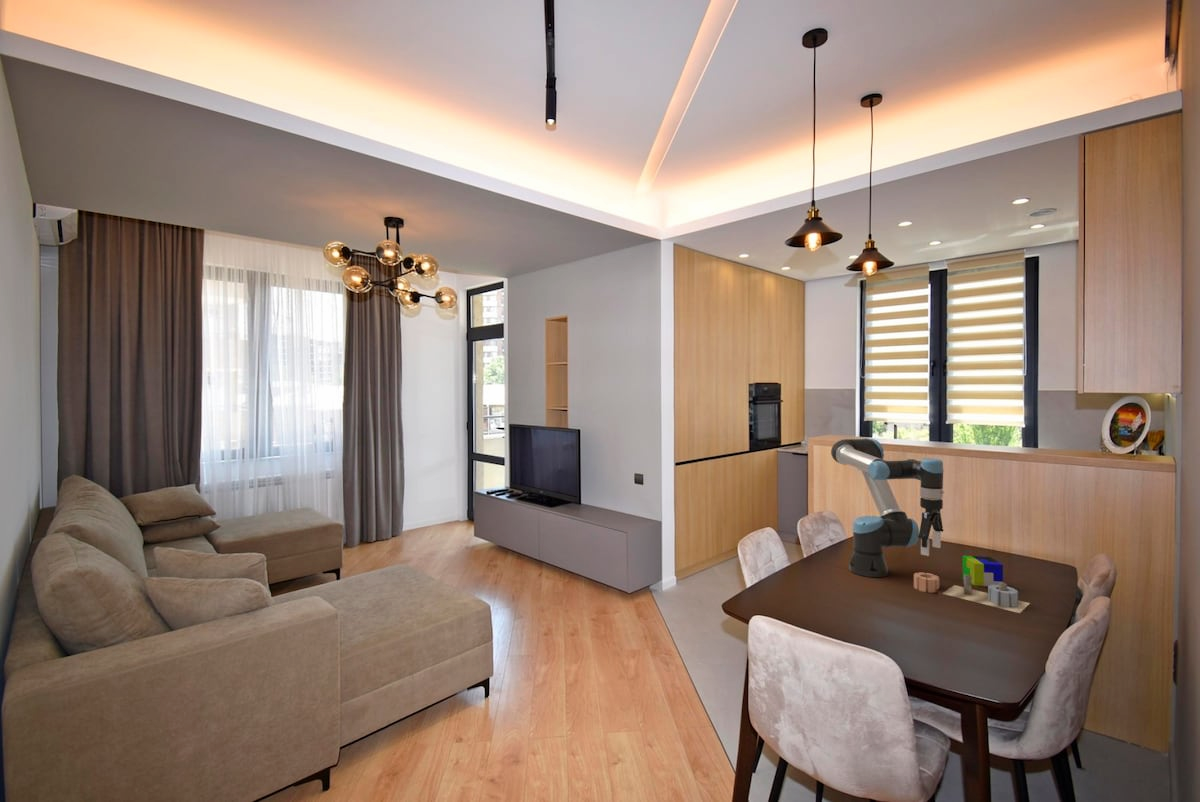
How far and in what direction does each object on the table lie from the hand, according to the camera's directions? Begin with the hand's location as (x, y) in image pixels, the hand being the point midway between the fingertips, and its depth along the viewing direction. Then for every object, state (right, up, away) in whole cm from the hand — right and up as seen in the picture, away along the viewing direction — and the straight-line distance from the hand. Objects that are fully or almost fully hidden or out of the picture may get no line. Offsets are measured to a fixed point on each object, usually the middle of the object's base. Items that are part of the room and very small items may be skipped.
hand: (930, 551), depth 213 cm
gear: (+15, -14, -17) cm, 27 cm away
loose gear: (-2, -15, 0) cm, 15 cm away
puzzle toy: (+23, -15, +4) cm, 27 cm away
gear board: (+12, -15, -13) cm, 23 cm away
